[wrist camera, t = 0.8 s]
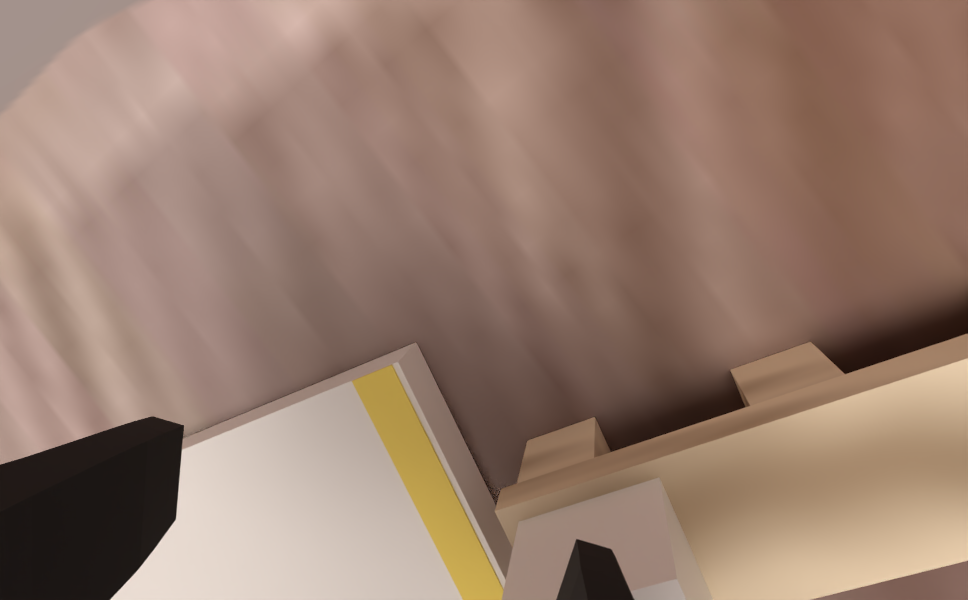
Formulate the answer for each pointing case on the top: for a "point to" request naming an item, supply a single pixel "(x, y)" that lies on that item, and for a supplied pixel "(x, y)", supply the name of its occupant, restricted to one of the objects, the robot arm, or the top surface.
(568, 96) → the top surface
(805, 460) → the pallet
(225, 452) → the dock
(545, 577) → the greyish beige cube
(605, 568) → the robot arm
